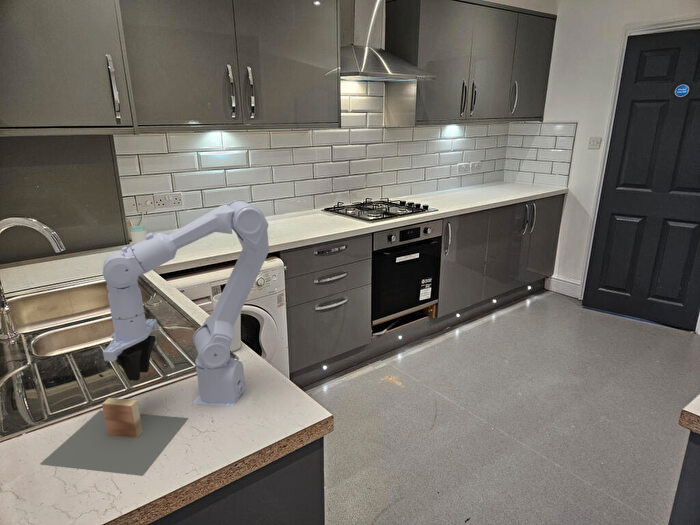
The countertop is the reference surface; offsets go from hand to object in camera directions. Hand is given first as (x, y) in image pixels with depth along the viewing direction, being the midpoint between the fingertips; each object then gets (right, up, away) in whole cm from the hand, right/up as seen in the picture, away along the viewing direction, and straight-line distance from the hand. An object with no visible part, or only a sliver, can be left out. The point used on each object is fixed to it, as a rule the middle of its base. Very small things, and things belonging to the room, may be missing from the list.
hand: (138, 375), depth 92 cm
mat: (-1, -11, -5) cm, 13 cm away
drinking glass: (+11, 0, +31) cm, 33 cm away
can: (-58, +28, +128) cm, 144 cm away
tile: (-1, -10, -4) cm, 11 cm away
